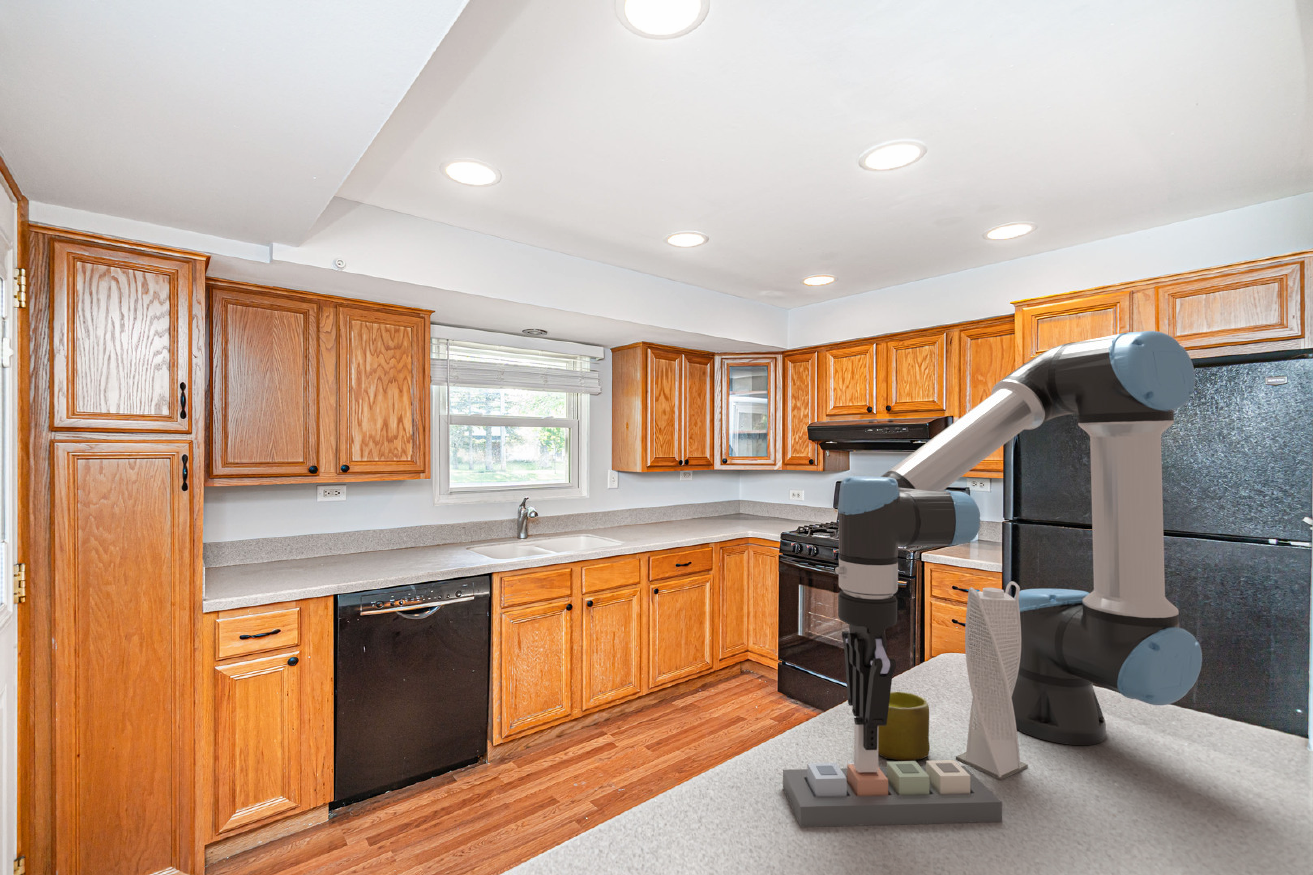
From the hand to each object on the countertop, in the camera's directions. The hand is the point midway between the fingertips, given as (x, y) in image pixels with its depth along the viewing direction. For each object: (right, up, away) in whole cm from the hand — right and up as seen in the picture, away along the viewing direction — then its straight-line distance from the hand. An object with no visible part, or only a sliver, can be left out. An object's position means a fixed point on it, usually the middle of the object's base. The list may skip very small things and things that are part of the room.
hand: (866, 769), depth 84 cm
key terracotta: (0, -3, 0) cm, 3 cm away
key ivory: (+11, -3, +1) cm, 12 cm away
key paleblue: (-5, -3, 0) cm, 6 cm away
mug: (+10, -5, +16) cm, 20 cm away
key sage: (+6, -3, 0) cm, 6 cm away
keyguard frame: (+3, -5, 0) cm, 6 cm away
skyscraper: (+22, -5, +10) cm, 25 cm away
